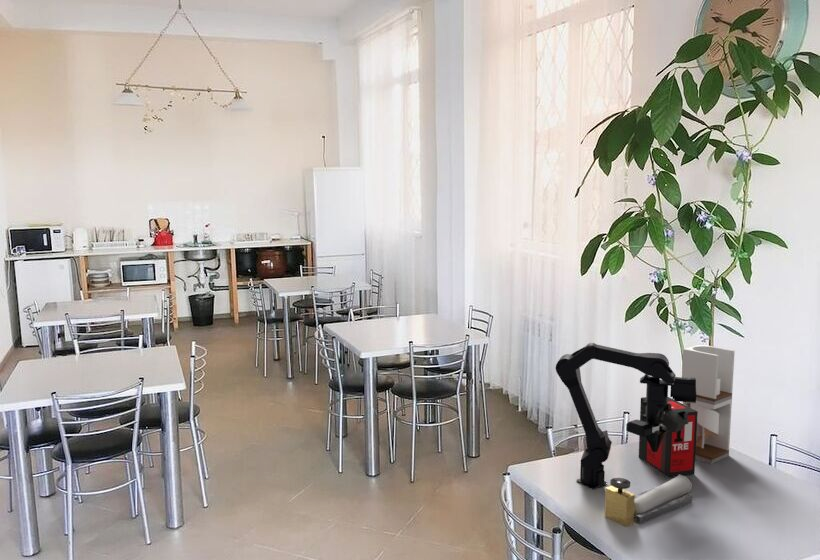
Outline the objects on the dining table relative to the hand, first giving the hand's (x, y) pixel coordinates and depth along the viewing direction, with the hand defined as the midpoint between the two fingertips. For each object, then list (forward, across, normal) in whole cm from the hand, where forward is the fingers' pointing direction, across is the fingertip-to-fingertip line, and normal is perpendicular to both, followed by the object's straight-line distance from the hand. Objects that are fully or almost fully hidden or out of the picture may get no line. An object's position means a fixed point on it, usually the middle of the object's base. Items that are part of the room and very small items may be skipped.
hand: (654, 451), depth 199 cm
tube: (+12, -5, -6) cm, 15 cm away
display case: (+12, +37, +9) cm, 40 cm away
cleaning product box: (+12, +19, +10) cm, 25 cm away
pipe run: (+12, -10, -6) cm, 17 cm away
